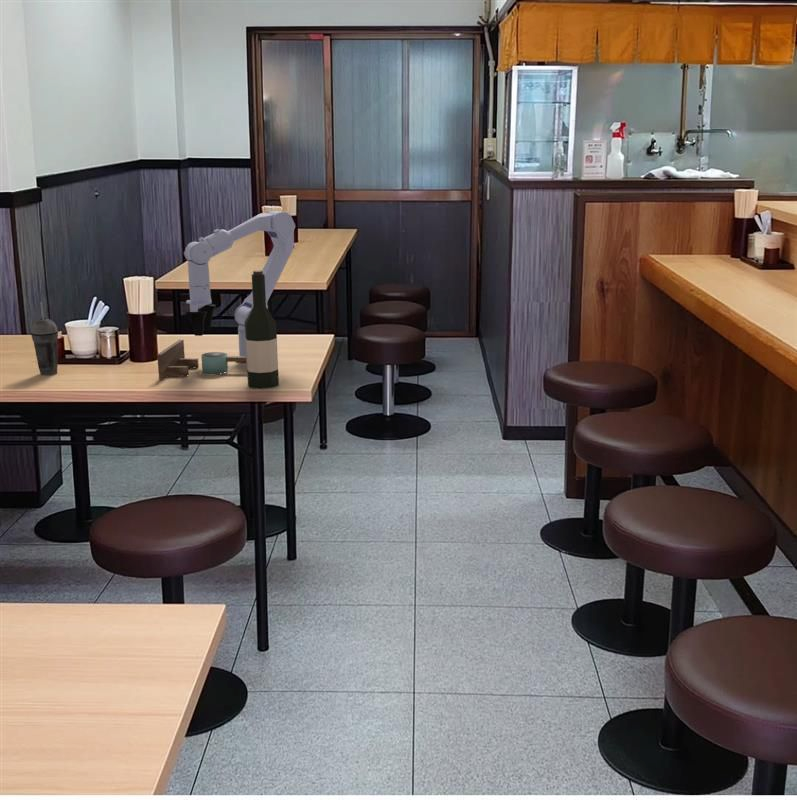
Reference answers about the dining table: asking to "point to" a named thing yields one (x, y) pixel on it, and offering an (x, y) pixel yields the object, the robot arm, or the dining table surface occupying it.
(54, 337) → the beverage cup
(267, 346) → the wine bottle
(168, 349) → the holder
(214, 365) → the pot
